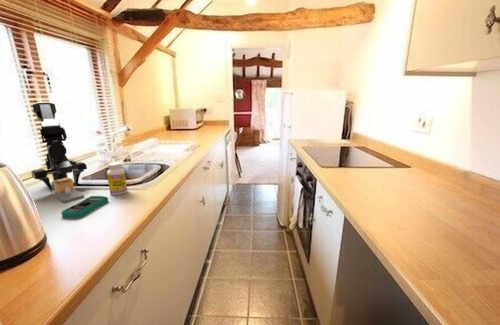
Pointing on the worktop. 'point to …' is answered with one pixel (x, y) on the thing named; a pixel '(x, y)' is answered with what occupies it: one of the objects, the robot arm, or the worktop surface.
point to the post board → (68, 195)
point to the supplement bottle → (116, 179)
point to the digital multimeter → (84, 207)
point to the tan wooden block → (63, 184)
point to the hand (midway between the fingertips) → (64, 188)
